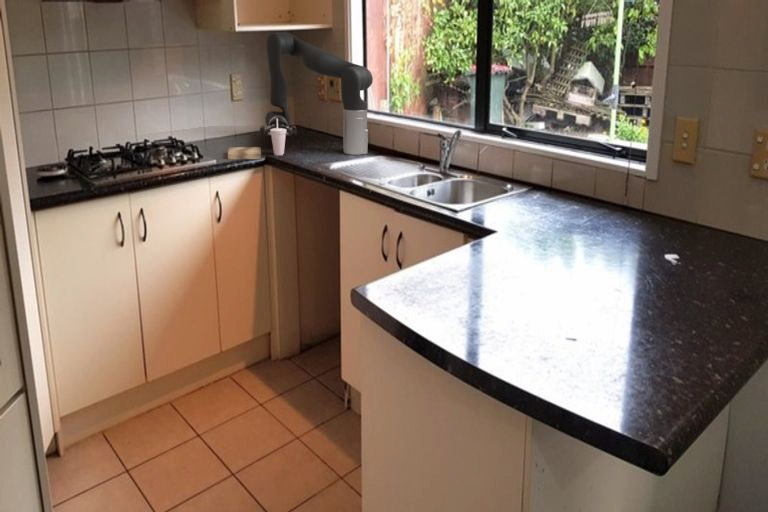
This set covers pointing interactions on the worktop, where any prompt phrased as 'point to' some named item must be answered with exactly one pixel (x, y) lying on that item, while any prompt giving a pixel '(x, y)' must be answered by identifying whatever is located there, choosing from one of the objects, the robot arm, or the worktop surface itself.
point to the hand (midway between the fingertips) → (278, 133)
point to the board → (244, 153)
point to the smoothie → (278, 139)
